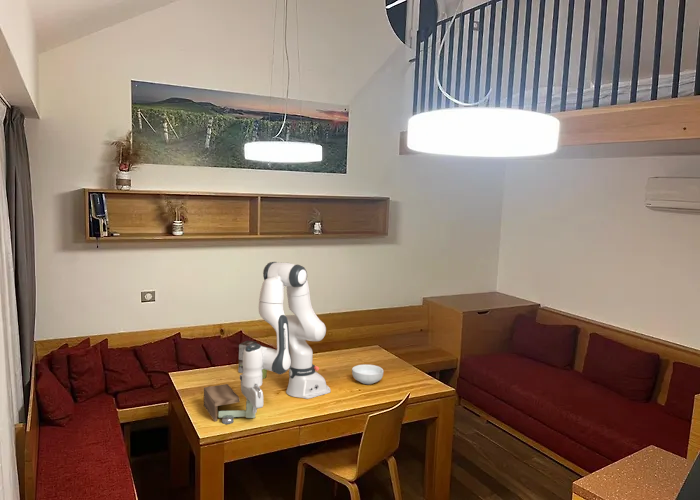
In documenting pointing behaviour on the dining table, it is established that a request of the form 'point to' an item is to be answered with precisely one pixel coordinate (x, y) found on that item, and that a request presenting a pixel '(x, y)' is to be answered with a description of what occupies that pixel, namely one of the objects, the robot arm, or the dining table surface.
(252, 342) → the coffee box
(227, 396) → the walnut shelf
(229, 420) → the steel puck
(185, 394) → the dining table surface
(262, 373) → the plant pot
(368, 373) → the cereal bowl
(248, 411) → the sage paddle
